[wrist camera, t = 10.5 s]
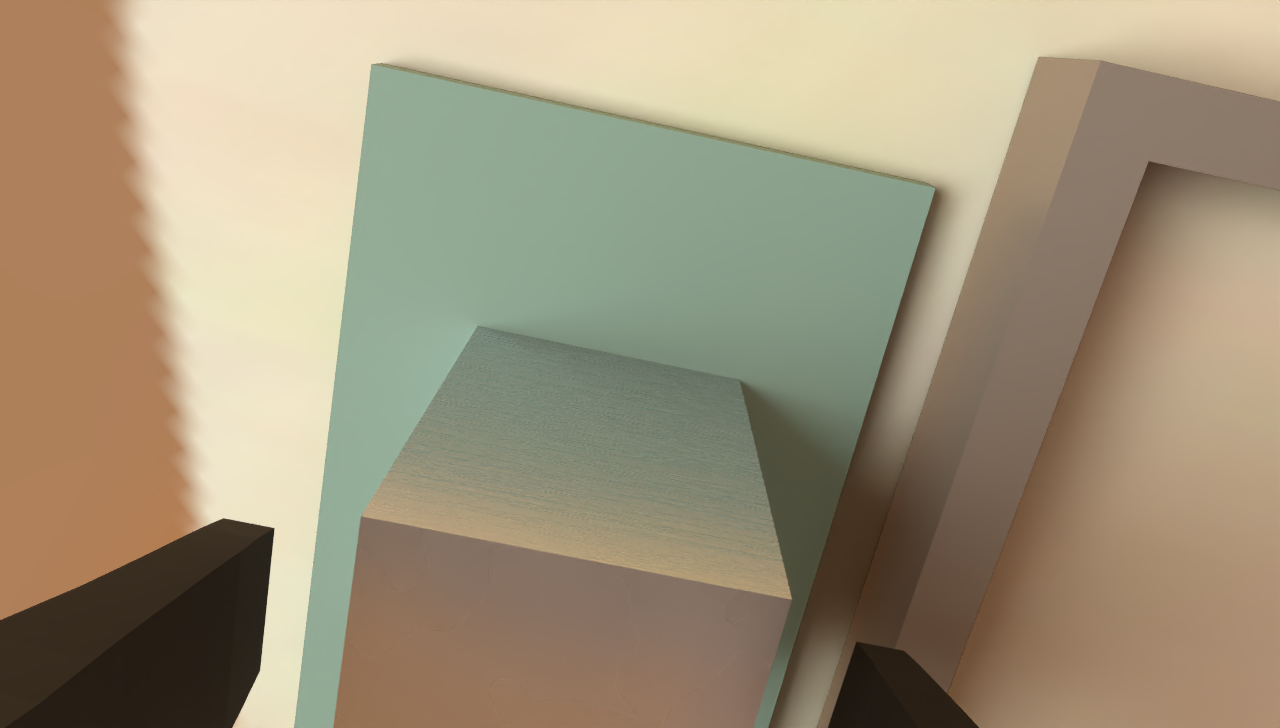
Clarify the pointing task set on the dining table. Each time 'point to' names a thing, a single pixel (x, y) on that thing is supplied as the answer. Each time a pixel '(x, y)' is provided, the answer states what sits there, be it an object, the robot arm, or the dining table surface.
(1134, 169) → the equipment case
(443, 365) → the module mat
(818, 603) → the dining table surface
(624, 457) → the block
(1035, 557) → the dining table surface
